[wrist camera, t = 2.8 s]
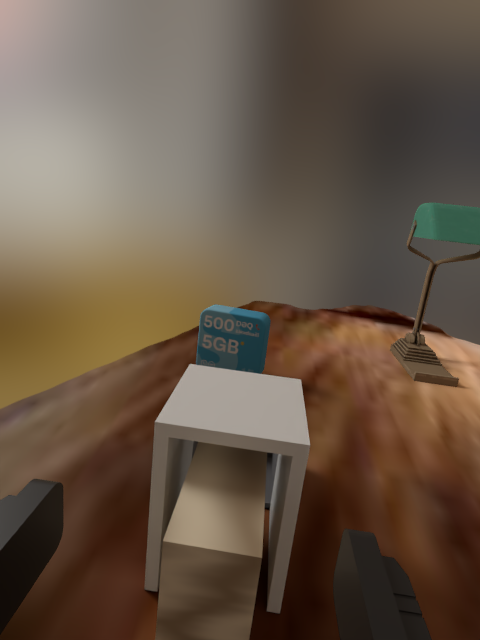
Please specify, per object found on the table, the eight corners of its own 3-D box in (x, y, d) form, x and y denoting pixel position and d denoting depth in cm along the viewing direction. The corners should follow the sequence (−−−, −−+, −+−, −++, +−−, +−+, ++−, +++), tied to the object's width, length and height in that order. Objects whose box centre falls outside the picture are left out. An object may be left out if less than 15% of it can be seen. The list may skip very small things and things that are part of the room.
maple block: (151, 684, 25) (162, 540, 22) (192, 535, 36) (202, 428, 33) (239, 701, 24) (261, 557, 21) (252, 545, 36) (267, 438, 33)
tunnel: (144, 589, 31) (154, 421, 27) (179, 493, 41) (190, 363, 37) (279, 613, 30) (310, 445, 26) (279, 509, 40) (300, 379, 37)
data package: (194, 370, 73) (200, 307, 70) (203, 362, 77) (209, 302, 74) (257, 384, 70) (266, 319, 67) (263, 375, 74) (271, 313, 71)
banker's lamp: (439, 357, 98) (477, 211, 89) (479, 392, 78) (532, 209, 69) (375, 348, 99) (406, 203, 90) (397, 380, 79) (439, 199, 70)
